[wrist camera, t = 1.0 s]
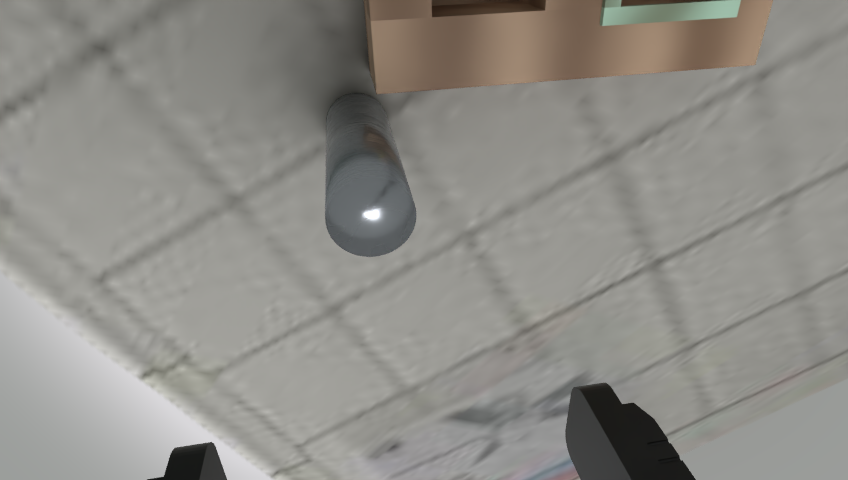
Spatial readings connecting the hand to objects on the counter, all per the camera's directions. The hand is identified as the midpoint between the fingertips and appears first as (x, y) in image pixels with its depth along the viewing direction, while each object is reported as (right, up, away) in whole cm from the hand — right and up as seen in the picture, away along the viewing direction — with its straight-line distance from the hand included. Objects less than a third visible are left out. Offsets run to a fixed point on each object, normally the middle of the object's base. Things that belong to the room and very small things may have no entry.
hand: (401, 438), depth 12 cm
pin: (-3, +11, +19) cm, 23 cm away
